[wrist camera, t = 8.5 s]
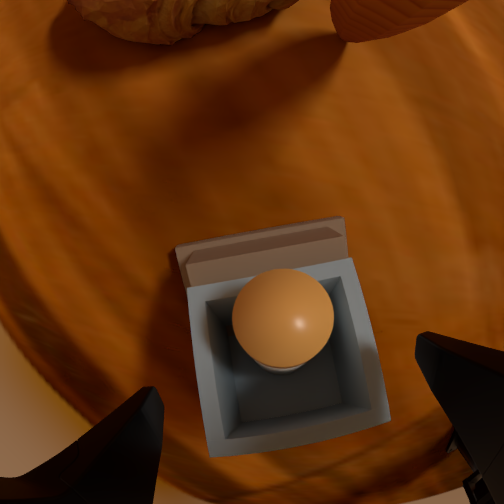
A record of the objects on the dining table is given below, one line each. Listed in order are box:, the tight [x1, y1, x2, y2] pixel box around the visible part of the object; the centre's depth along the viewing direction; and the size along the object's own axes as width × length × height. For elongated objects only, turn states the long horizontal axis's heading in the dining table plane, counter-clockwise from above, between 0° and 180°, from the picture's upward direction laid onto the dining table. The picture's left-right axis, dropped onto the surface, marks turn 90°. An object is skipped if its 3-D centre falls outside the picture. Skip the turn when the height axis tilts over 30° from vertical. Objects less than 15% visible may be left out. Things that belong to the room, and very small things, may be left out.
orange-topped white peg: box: [232, 269, 334, 375], centre depth 12 cm, size 3×3×7 cm
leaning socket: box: [175, 216, 391, 457], centre depth 13 cm, size 11×9×9 cm
